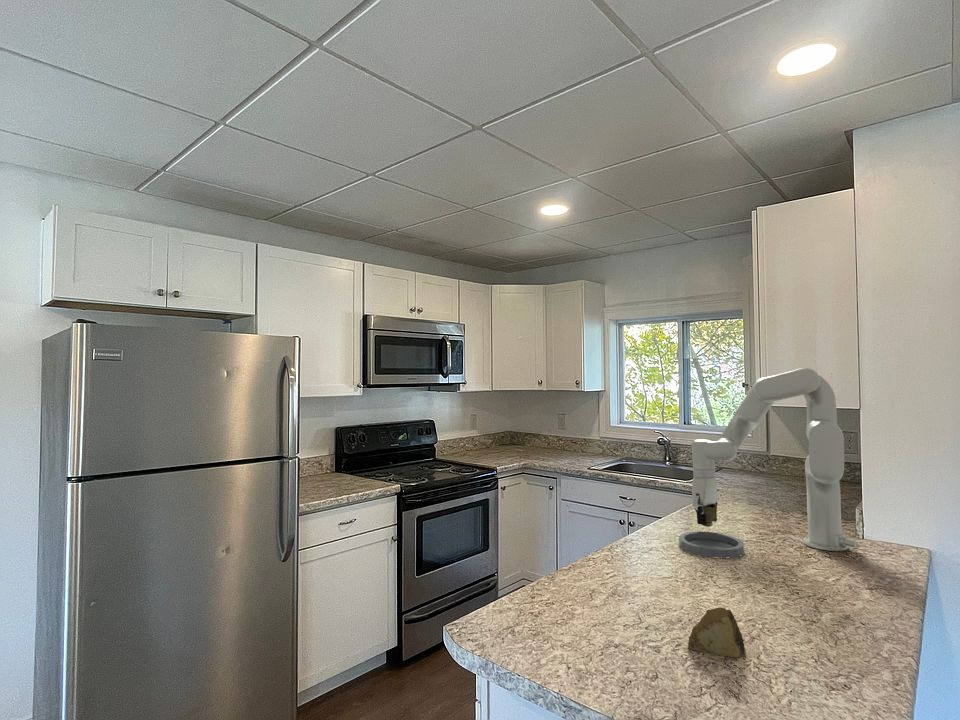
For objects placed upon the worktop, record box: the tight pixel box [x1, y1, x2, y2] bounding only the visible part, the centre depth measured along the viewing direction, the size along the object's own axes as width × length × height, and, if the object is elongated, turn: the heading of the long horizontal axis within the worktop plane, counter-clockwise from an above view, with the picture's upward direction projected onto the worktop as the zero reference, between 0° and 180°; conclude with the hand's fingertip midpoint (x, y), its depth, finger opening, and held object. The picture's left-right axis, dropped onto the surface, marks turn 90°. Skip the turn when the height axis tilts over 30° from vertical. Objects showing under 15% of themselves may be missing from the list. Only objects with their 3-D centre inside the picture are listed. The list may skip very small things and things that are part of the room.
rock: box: [687, 607, 747, 659], centre depth 110 cm, size 11×9×10 cm
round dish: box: [678, 531, 746, 559], centre depth 174 cm, size 20×20×3 cm
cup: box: [699, 503, 718, 528], centre depth 192 cm, size 8×7×8 cm
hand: (707, 522), depth 192 cm, fingers closed on cup, 6 cm apart
